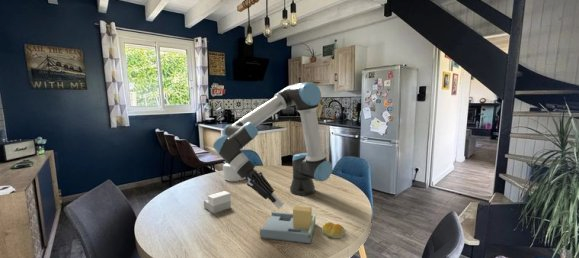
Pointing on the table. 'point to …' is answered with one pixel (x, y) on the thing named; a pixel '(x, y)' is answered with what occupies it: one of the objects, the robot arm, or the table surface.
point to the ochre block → (302, 217)
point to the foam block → (218, 202)
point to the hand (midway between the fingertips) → (281, 206)
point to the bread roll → (333, 230)
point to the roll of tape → (231, 173)
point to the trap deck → (286, 229)
